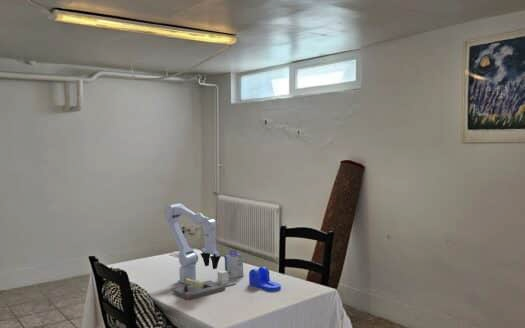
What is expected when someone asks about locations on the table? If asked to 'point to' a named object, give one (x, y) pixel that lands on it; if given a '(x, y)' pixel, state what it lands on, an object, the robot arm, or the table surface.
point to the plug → (223, 277)
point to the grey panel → (199, 290)
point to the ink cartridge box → (234, 264)
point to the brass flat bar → (191, 283)
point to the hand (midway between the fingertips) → (210, 267)
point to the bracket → (262, 279)
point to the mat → (228, 284)
